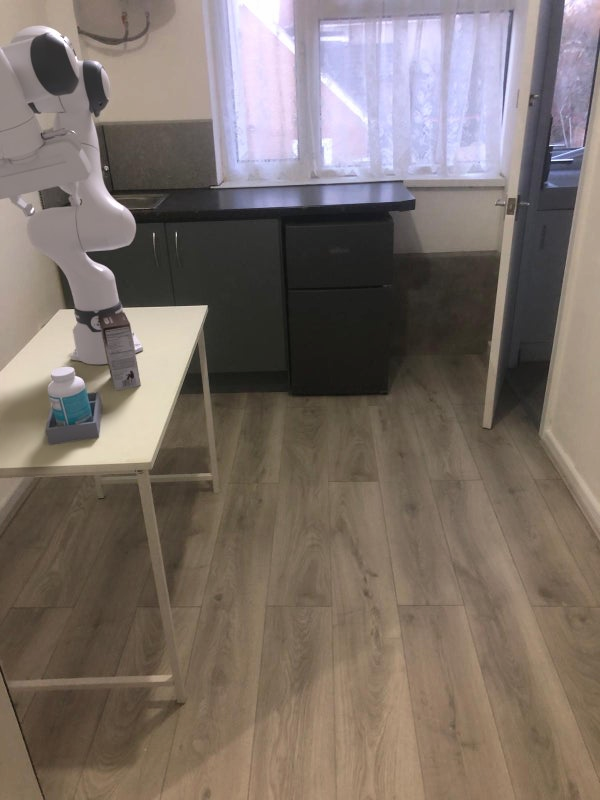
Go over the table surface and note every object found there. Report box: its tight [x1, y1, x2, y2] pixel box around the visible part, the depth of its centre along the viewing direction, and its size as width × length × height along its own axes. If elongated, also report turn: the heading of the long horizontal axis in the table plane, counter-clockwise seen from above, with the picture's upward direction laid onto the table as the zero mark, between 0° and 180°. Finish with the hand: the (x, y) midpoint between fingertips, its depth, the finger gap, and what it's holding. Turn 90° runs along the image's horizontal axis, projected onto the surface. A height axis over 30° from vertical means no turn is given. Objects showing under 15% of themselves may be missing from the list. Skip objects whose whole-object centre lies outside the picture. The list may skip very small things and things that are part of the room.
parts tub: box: [44, 391, 103, 445], centre depth 139 cm, size 15×10×4 cm, turn 13°
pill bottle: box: [47, 366, 94, 427], centre depth 135 cm, size 8×7×14 cm
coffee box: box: [98, 311, 142, 391], centre depth 155 cm, size 9×6×16 cm
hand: (53, 209), depth 125 cm, fingers open, 8 cm apart
